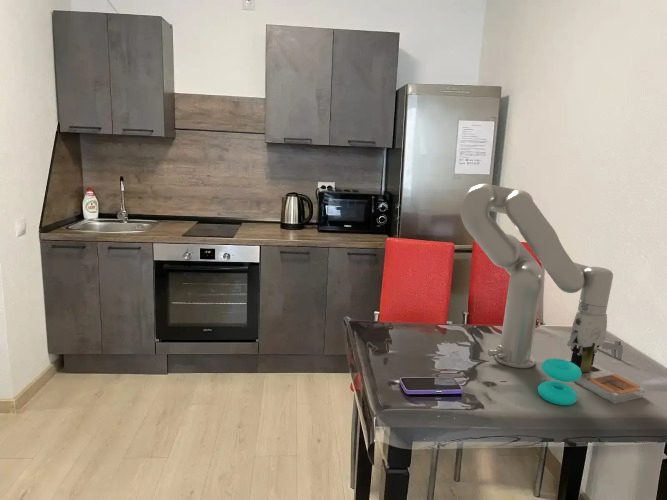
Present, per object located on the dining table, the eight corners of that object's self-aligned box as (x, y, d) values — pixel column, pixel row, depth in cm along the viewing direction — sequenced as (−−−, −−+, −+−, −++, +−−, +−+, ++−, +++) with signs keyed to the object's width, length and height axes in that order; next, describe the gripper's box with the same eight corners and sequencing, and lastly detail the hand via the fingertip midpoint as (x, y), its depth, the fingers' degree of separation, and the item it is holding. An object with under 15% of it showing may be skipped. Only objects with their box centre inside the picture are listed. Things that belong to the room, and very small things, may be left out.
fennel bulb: (590, 379, 152) (598, 342, 149) (573, 377, 153) (580, 340, 150) (585, 371, 158) (592, 335, 155) (568, 368, 159) (575, 333, 156)
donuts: (534, 357, 141) (564, 355, 143) (529, 390, 143) (558, 387, 146) (560, 374, 131) (591, 371, 134) (553, 408, 133) (584, 405, 136)
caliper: (620, 360, 169) (624, 342, 167) (618, 360, 168) (622, 343, 167) (571, 337, 187) (574, 321, 185) (569, 337, 186) (572, 321, 185)
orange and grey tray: (614, 403, 138) (615, 394, 138) (551, 368, 158) (552, 360, 157) (643, 397, 143) (645, 388, 143) (578, 364, 163) (580, 356, 162)
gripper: (582, 314, 144) (571, 373, 148) (622, 310, 151) (611, 366, 155) (561, 306, 151) (551, 362, 155) (601, 302, 157) (590, 356, 161)
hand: (581, 363), depth 155 cm, fingers closed on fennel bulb, 4 cm apart
